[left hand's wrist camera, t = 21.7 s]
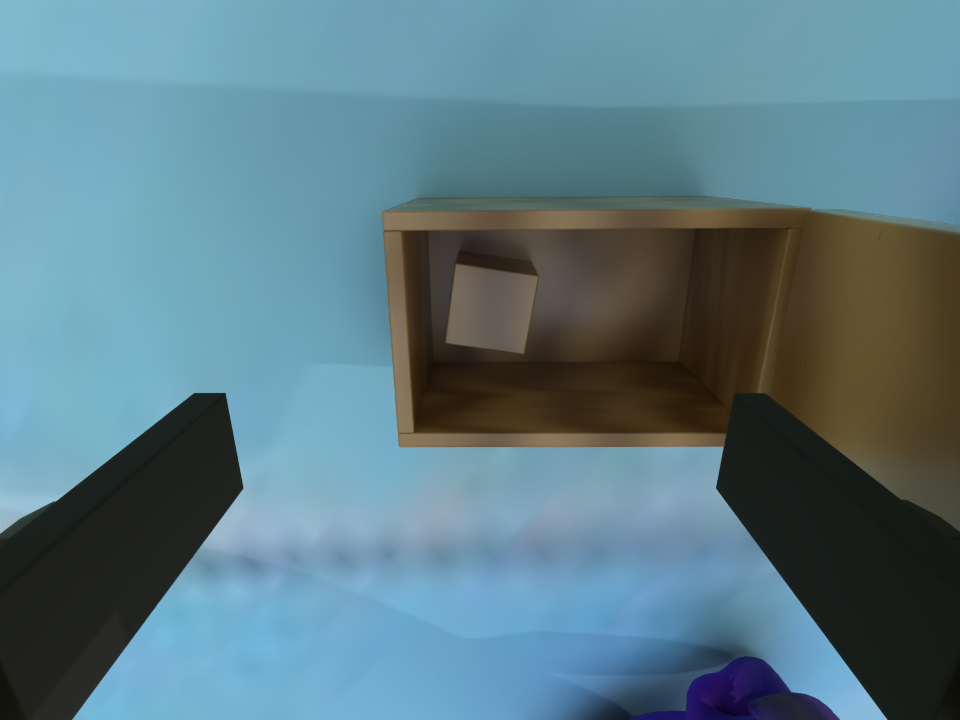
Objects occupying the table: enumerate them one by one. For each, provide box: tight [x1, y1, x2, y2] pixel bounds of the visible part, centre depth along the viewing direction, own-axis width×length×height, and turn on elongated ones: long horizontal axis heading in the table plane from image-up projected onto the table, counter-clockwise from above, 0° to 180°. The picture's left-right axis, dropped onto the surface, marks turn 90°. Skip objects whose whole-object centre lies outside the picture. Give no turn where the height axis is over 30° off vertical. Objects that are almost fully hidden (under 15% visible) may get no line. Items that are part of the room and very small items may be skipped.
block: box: [445, 251, 539, 355], centre depth 28 cm, size 4×4×4 cm
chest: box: [382, 196, 812, 447], centre depth 26 cm, size 16×10×10 cm, turn 91°
